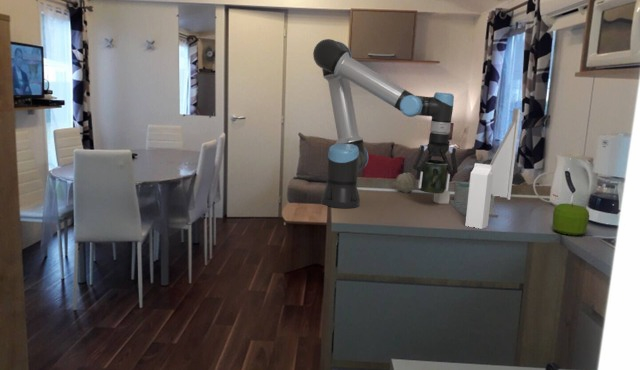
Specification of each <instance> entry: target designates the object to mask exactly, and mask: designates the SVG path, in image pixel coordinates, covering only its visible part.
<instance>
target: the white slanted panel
mask: <svg viewBox="0 0 640 370" xmlns="http://www.w3.org/2000/svg"><path fill="white" fill-rule="evenodd" d="M521 111H522V110H521V109H520V108H513V109H512V116H511V123H510V125H509V128H508V129H507V131H506V133H505V135H504V137H503V138H502V140H501V142H500V144H499V146H498V147H497V150H496V152H495V154H494V155H493V157H492V159H491V161H490V163H489V165H491V166H492V167H491V170H492V172H493V183H492V192H491V194H493V195H494V196H500V197H499V198H506V199H507V201H508V200H511V196H512V195H511V194H512V187H513V179H514V171H515V170H514V169H515V161H516V153H517V144H518V136H519V127H520V121H521V120H520V119H521Z"/></svg>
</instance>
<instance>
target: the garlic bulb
mask: <svg viewBox="0 0 640 370" xmlns="http://www.w3.org/2000/svg"><path fill="white" fill-rule="evenodd" d="M393 184H394V185H395V189H396V191H398V192H401V193H406V194H407V193H411V192H412V191H413V190H414V189H415V185H416V178H415V176H414V174H412V173H410V172H403V173H399V174H398V175H397V177H396V178H395V180H394V181H393Z"/></svg>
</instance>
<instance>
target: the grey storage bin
mask: <svg viewBox="0 0 640 370" xmlns="http://www.w3.org/2000/svg"><path fill="white" fill-rule="evenodd" d="M454 185H455V186H454V193H453V199H449V203H448V204H449V205H451V206H452V207H453V208H454V209H456V210H457V211H458V212H459V213H461V215H462V216H465V217H466V213H467V204H468V194H469V185H470V182H460V181H459V182H457V183H455V184H454ZM495 198H496V197H495V196H494V195H493V194H491V201H490V210H489V218H498V217H499V214H498V213H496V212H495V211H494V210H495V209H494V208H495Z"/></svg>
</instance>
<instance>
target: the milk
mask: <svg viewBox="0 0 640 370" xmlns="http://www.w3.org/2000/svg"><path fill="white" fill-rule="evenodd" d="M491 167H492V166H491V165H490V164H485V163H478V162H475V163H474V167H473V169H472V170H471V171H470V177H469V183H470V185H469V194H468V204H467V213H466V216H465V227H468V226H469V227H468V228H473V227H475V228H474V229H478V228H479V230H483V229H485V228H487V227H488V226H489V219H490V217H489V210H490V201H491V192H492V183H493V172H492V170H491Z"/></svg>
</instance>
